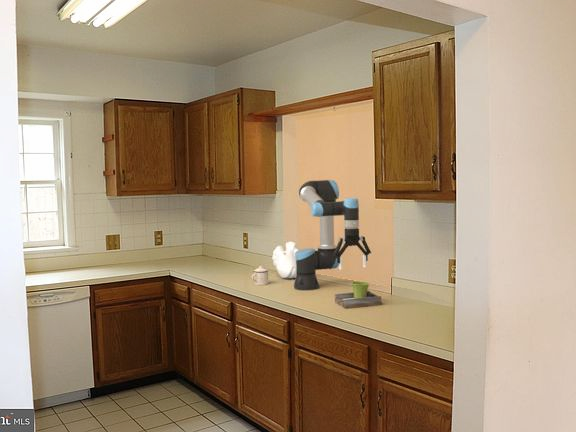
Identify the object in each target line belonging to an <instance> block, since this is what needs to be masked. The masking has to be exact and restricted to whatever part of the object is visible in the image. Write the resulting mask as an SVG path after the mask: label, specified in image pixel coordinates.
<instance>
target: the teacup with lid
mask: <svg viewBox="0 0 576 432" xmlns="http://www.w3.org/2000/svg"><path fill="white" fill-rule="evenodd" d="M251 280H252V282H254V285H255V286H266V285H269V270H268V269H267V268H265V267H263V265H259V267H257V268H256V269H254V270H253V274H252V275H251Z"/></svg>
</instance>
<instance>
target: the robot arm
mask: <svg viewBox="0 0 576 432" xmlns="http://www.w3.org/2000/svg"><path fill="white" fill-rule="evenodd" d="M298 195H299V198H300V199H301V200H302V201H303V202H306V203H307V204H308V206H310V213H311V216H312V217H316V218H317V217H318V218H319V246H318V247H317V250H316V249H315V248H313V247H312V248H310V247H309V248H303V249H300V250H299V249H298V250H299V251H298V252H297V253H296V273H297V275H296V278H294V279H295V280H294V283H293V288H294V289H295V290H297V291H298V290H299V291H311V290H316V289H318V288H320V284H319V280H318V278H317V272H316V271H317V270H319V271H321V270H332V269H333V270H334V269H337V268H338V270H340V271H343V257H342V255H343V254H344V253H345V251H346V249H348V248H349V247H352V246H354V247H357V248H358V249H359V250H360V251H361V252H362V253H363V254H362V267H363V268H365V269H366V268H367V262H368V261H369V258H368V256H369V255H370V254H372V251H371V250H370V247H369V246H368V243H367V241H366V237H365V236H363V235H361V236H360V228H359V227H360V217H359V215H360V214H359V213H360V211H359V207H360V205H359V199H358V198H357V197H356V198H355V197H350V198H349V197H346V198H344V199H343V200H341V201H336V200H338V199H339V197H340V189H339V185H338V183H337V182H336V181H335V180H334V179H327V180H326V179H322V180H321V179H320V180H309V181H306V182H304V183H303V184H302V185H301V186H300V188H299V190H298ZM336 216H337V217H338V216H343V217H344V219H343V220H344V221H343V223H344V224H343V226H344V237H339V238H338V243H337V245H335V226H334V225H335V223H334V222H335V221H334V220H335V218H334V217H336ZM360 241H361V243H362V244H361V243H360ZM342 245H343V246H342ZM362 245H363V246H362Z"/></svg>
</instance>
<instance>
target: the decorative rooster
mask: <svg viewBox="0 0 576 432" xmlns="http://www.w3.org/2000/svg"><path fill="white" fill-rule="evenodd" d="M298 251H299V248H298V246H297V244H296V242H294V241H288V242H286V243H285V250H284V247H283V245H278V246H276V247H275V249H274V250H273V252H272V257H271V258H272V263H273V266H274V267H275V268H276V271H277V274H278V275H279V277H280V278H282V279H296V275H297V273H296V253H297V252H298Z"/></svg>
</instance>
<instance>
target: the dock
mask: <svg viewBox="0 0 576 432" xmlns="http://www.w3.org/2000/svg"><path fill="white" fill-rule="evenodd" d="M334 303H335V304H337V305H338V306H340V307H342V308H343V309H345V310H347V309H348V310H349V309H355V308H356V309H357V308H364V307H365V308H366V307H367V308H368V307H375V306H381V305H382V296H381V295H377V294H375V293H373V292H371V291H370V290H367V296H366V298H356V299H354V292H353V291H352V292H346V293H345V292H344V293H334Z"/></svg>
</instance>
